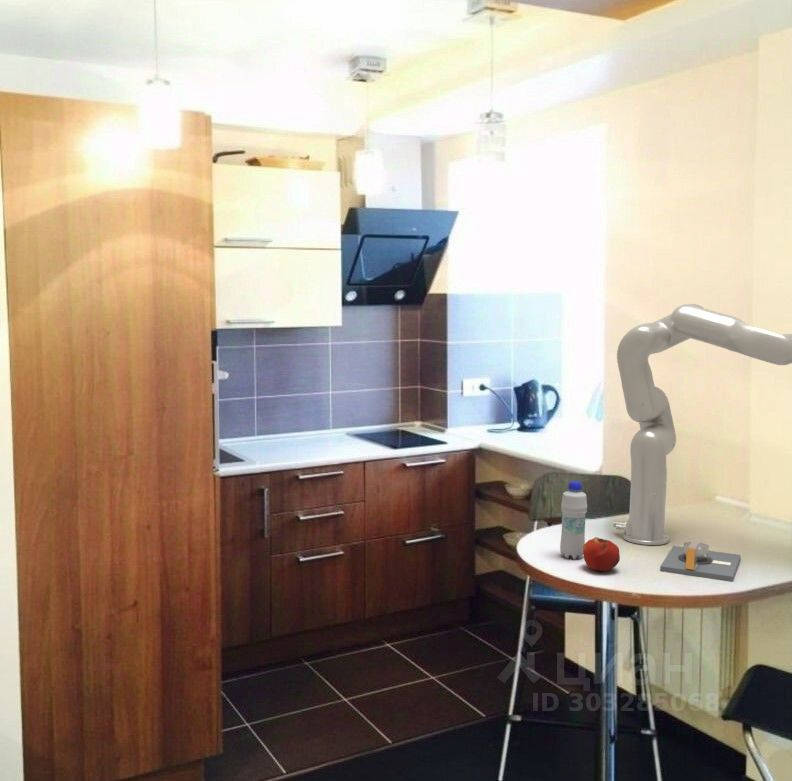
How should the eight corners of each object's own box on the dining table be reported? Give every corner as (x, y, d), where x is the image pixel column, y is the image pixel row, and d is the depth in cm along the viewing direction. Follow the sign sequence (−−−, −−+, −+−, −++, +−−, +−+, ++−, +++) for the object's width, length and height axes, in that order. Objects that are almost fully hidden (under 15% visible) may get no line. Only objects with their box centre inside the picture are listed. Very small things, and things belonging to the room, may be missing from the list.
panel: (660, 570, 228) (660, 565, 228) (673, 550, 246) (673, 544, 246) (732, 581, 221) (732, 575, 220) (740, 559, 239) (740, 554, 238)
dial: (685, 553, 238) (686, 535, 237) (709, 557, 235) (710, 538, 234) (677, 567, 226) (678, 548, 225) (702, 571, 223) (703, 551, 223)
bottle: (581, 553, 242) (585, 478, 239) (588, 560, 235) (591, 484, 233) (556, 552, 242) (559, 478, 239) (562, 560, 235) (565, 484, 233)
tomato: (592, 561, 235) (593, 531, 234) (625, 569, 229) (627, 538, 228) (574, 570, 228) (576, 538, 227) (608, 578, 222) (610, 546, 221)
